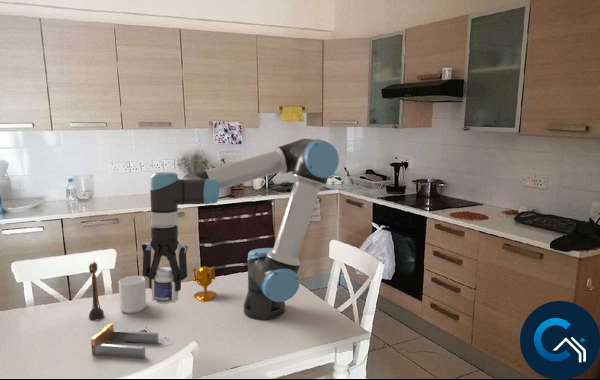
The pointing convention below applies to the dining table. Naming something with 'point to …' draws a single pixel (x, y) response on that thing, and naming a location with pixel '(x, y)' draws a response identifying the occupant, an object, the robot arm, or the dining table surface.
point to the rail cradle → (108, 334)
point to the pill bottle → (163, 285)
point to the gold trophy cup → (204, 283)
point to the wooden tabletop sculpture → (95, 295)
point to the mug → (132, 294)
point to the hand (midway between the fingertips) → (165, 299)
